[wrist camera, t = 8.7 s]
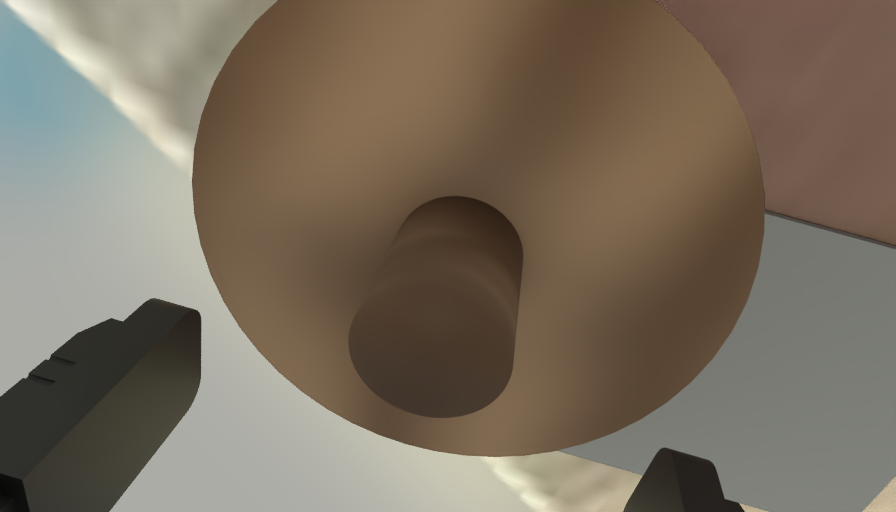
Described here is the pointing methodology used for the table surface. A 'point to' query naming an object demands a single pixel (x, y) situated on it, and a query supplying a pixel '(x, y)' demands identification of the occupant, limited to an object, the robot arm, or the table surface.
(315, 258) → the lid
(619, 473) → the table surface
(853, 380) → the mat
